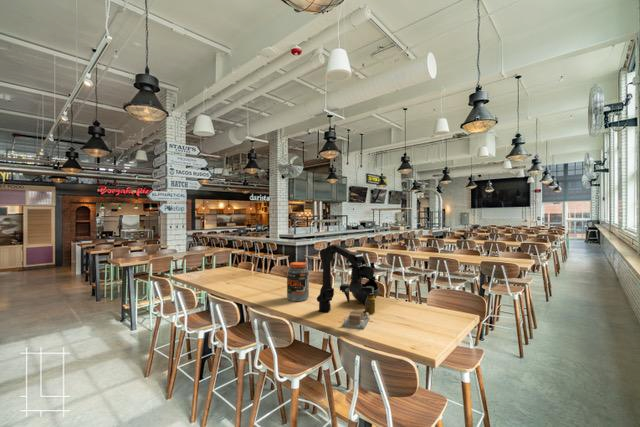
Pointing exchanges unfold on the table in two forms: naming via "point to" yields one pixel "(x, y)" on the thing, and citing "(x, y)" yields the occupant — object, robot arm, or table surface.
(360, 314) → the block
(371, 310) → the condiment
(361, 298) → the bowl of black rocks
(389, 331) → the table surface
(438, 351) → the table surface
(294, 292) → the supplement tub
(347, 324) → the chassis
